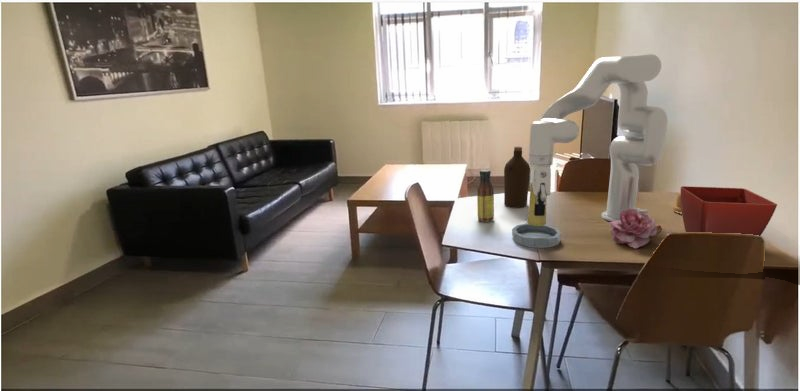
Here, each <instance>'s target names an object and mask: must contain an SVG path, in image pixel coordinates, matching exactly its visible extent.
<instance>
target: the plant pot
mask: <svg viewBox="0 0 800 391" xmlns="http://www.w3.org/2000/svg"><path fill="white" fill-rule="evenodd" d="M680 194H681V208H682V215H681V216H682V220H683V221H682V222H683V225H684V230H685V233H686V232H712V233H741V234H753V235H759V236H760V237H761V236H762V234H763V233H764V231H765V230H766V228H767V226H768V224H769V223H770V221H771V219H772V217H773V215H774V214H775V211H776V208H777V206H778V204H777V203H775V202H773V201H772V200H770V199H767V198H766V197H763V195H762V196H761V195H760V194H757V193H755V192H753V191H751V190H749V189H746V188H741V187H740V188H739V187H712V186H683V185H682V186H680Z"/></svg>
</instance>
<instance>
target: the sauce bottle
mask: <svg viewBox="0 0 800 391" xmlns="http://www.w3.org/2000/svg"><path fill="white" fill-rule="evenodd" d="M491 174H492V173H491V170H490V169H487V168H486V169H479V175H480V177H479V178H480V179H479V184H478V185H477V189H476V190H477V194H476V196H477V197H476V198H477V203H476V204H477V219H478V221H479V222H482V223H490V222H493V221H494V220H495V202H494V201H495V195H494V194H495V192H494V187H493V184H492V183H491V182H492V181H491Z"/></svg>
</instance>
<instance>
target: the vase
mask: <svg viewBox="0 0 800 391" xmlns="http://www.w3.org/2000/svg"><path fill="white" fill-rule="evenodd" d="M529 191H530V192H529V205H528V212H527V214H528V215H527V220H526V223H528V224H530V225H533V226H543V225H547V198H548V197H547V196H548V195H547V194H546V193H545V194H546V198H545V215H544V216H535V215H534V209H535V204H536V195H535V194H534V193H533V187H532V182H531V189H530V188H529ZM545 192H546V191H545ZM538 195H541V193H538ZM539 198H540V197H538V200H539Z"/></svg>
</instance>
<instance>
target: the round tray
mask: <svg viewBox="0 0 800 391" xmlns="http://www.w3.org/2000/svg"><path fill="white" fill-rule="evenodd" d="M511 236H512V240H513V241H514V243H516V244H518V245H521V246H522V247H527V248H533V249H534V248H535V249H548V248H553V247H557V246H558V245H559V244H560V243H561V242H560V241H561V238H562V232H561V231H560V230H559V228H557V227H554V226H551V225H548V224H545V225H543V226H533V225H530V224H528V223H527V222H526V223H521V224H517V225H515V226H514V227H512V229H511Z"/></svg>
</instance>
